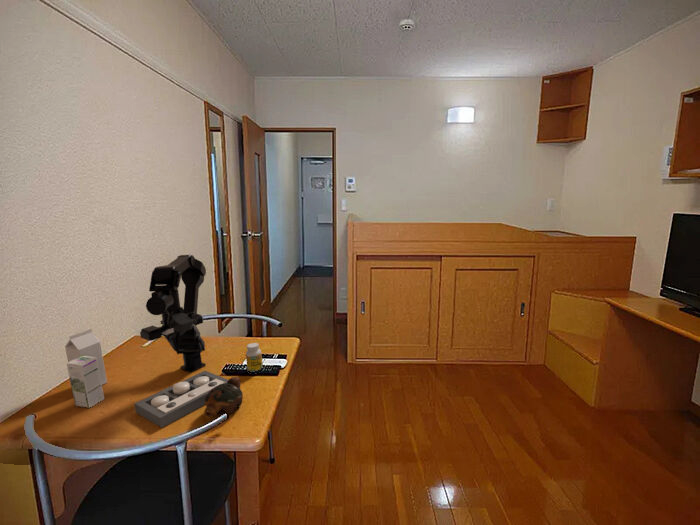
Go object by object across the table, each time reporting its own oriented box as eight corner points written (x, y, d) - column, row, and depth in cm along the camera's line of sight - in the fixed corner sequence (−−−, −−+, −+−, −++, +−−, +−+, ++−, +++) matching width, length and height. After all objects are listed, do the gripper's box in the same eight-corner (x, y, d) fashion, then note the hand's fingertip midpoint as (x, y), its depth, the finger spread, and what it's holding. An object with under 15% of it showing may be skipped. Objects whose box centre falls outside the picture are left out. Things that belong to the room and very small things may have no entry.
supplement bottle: (259, 365, 145) (257, 340, 144) (265, 371, 141) (263, 345, 139) (245, 369, 143) (242, 344, 141) (250, 375, 138) (248, 349, 136)
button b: (170, 392, 124) (169, 386, 123) (184, 386, 128) (183, 380, 127) (179, 397, 121) (178, 390, 121) (193, 390, 125) (192, 384, 124)
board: (135, 412, 118) (134, 401, 117) (206, 378, 137) (205, 369, 136) (161, 427, 110) (160, 416, 109) (232, 389, 129) (231, 379, 128)
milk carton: (107, 382, 137) (98, 330, 133) (86, 393, 131) (76, 338, 127) (94, 379, 140) (84, 327, 136) (72, 389, 134) (62, 335, 130)
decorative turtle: (252, 398, 124) (250, 374, 122) (227, 427, 109) (224, 400, 108) (224, 395, 126) (221, 372, 124) (195, 424, 111) (192, 397, 110)
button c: (190, 386, 130) (190, 381, 129) (203, 380, 133) (203, 375, 133) (199, 390, 127) (199, 384, 126) (212, 384, 131) (212, 378, 130)
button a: (148, 407, 118) (147, 401, 118) (163, 399, 122) (163, 393, 122) (157, 412, 116) (156, 405, 115) (172, 404, 120) (171, 398, 119)
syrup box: (105, 399, 126) (97, 356, 124) (88, 409, 121) (80, 364, 118) (91, 397, 128) (83, 354, 125) (74, 407, 122) (65, 362, 120)
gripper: (155, 317, 116) (162, 367, 119) (210, 300, 131) (215, 345, 134) (136, 311, 123) (143, 359, 126) (190, 296, 138) (195, 339, 141)
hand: (176, 350), depth 131 cm, fingers closed
